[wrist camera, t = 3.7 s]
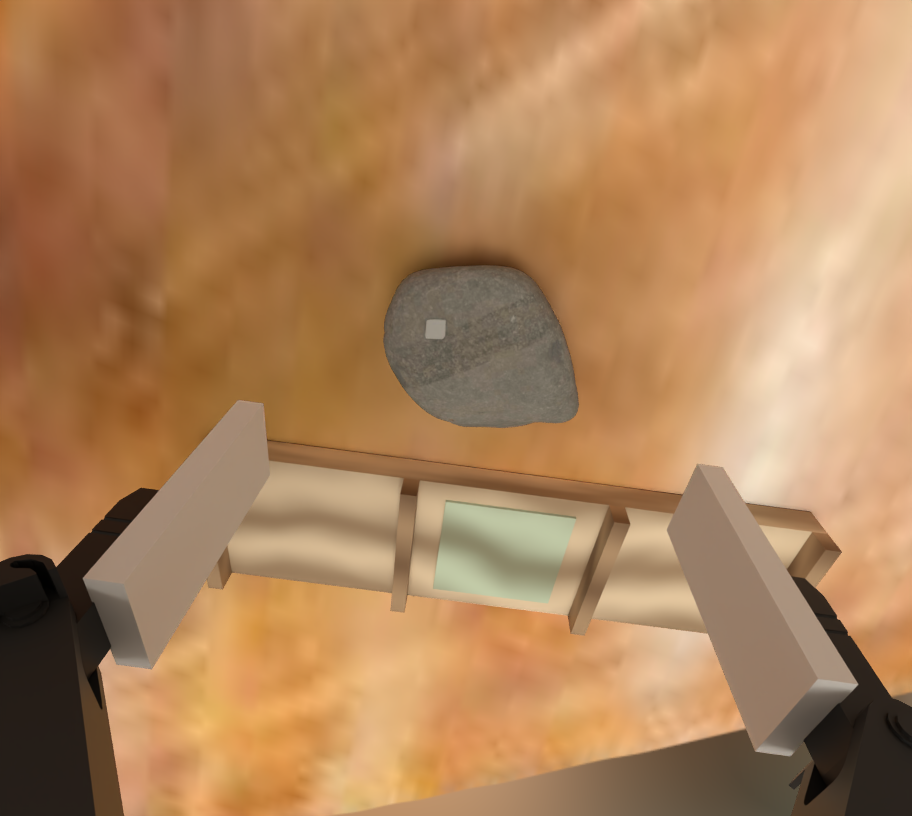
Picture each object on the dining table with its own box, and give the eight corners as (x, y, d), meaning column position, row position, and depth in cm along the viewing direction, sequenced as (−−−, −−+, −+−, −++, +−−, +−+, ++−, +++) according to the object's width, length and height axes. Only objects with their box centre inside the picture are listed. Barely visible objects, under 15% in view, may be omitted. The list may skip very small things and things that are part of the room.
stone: (428, 435, 32) (387, 463, 22) (409, 295, 32) (358, 260, 22) (571, 418, 31) (596, 439, 21) (553, 272, 31) (570, 223, 21)
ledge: (211, 432, 33) (183, 465, 30) (810, 512, 34) (842, 552, 31) (230, 550, 39) (208, 587, 36) (742, 616, 39) (762, 658, 36)
